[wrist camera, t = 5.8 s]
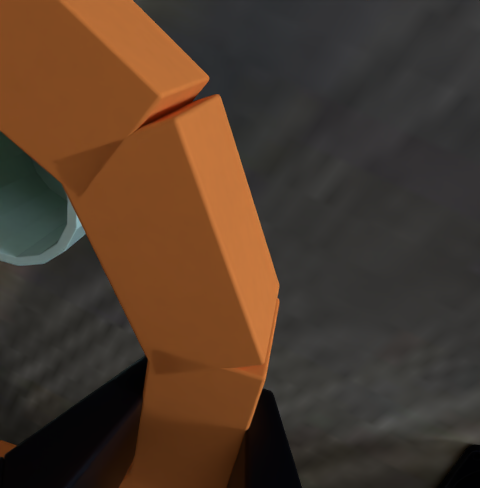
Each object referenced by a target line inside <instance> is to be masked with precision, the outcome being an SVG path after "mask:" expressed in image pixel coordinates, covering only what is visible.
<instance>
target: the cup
mask: <svg viewBox="0 0 480 488" xmlns="http://www.w3.org/2000/svg"><path fill="white" fill-rule="evenodd" d="M85 234H86V233H85V231H84V229H83V227H82V225H81V223H80V221H79V219H78V217H77V215H76V212H75V210H74V208H73V206H72V204H71V202H70V200H69V198H68V196H67V194H66V192H65V190H64V188H63V186H62V184H61V183H60V182H59V181H58V180H56V179H55V178H54V177H53V176H52V175H51V174H49V173H48V172H47V171H46V170H45V169H44V168H42V167H41V166H40V165H39V164H38V163H37V162H35V161H34V160H33V159H32V158H31V157H30V156H28V155H27V154H26V153H25V152H24V151H23V150H22V149H20V148H19V147H18V146H17V145H16V144H15V143H13V142H12V141H11V140H10V139H9V138H8V137H6V136H5V135H4V134H3V133H2V132H1V131H0V261H3V262H6V263H10V264H13V265H17V266H24V265H36V264H44V263H47V262H48V261H50V260H52V259H53V258H55V257H56V256H58V255H60V254H61V253H63V252H65V251H66V250H67V249H68V248H69V247H71V246H72V245H73V244H74V243H75V242H77V241H78V240H79V239H80V238H82V237H83V236H84V235H85Z"/></svg>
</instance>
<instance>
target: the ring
mask: <svg viewBox="0 0 480 488" xmlns="http://www.w3.org/2000/svg"><path fill="white" fill-rule="evenodd" d="M208 81H209V76H208V75H207V74H206V73H205V72H204V71H203V70H202V69H201V68H200V67H199V66H198V65H197V64H196V63H195V62H194V61H193V60H192V59H191V58H190V57H189V56H188V55H187V54H186V53H185V52H184V51H183V50H182V49H181V48H180V47H179V46H178V45H177V44H176V43H175V42H174V41H173V40H172V39H171V38H170V37H169V36H168V35H167V34H166V33H165V32H164V31H163V30H162V29H161V28H160V27H159V26H158V25H157V24H156V23H155V22H154V21H153V20H152V19H151V18H150V17H149V16H148V15H147V14H146V13H145V12H144V11H143V10H142V9H141V8H140V7H139V6H138V5H137V4H136V3H135V2H134V1H133V0H0V131H1V132H2V133H3V134H4V135H5V136H6V137H8V138H9V139H10V140H11V141H12V142H13V143H15V144H16V145H17V146H18V147H19V148H20V149H22V150H23V151H24V152H25V153H26V154H27V155H28V156H30V157H31V158H32V159H33V160H34V161H35V162H37V163H38V164H39V165H40V166H41V167H42V168H44V169H45V170H46V171H47V172H48V173H49V174H51V175H52V176H53V177H54V178H55V179H56V180H58V181H59V182H60V183H61V184H62V186H63V188H64V190H65V192H66V194H67V196H68V198H69V200H70V202H71V204H72V206H73V208H74V210H75V212H76V215H77V217H78V219H79V221H80V223H81V225H82V227H83V229H84V231H85V233H86V235H87V237H88V239H89V241H90V243H91V245H92V247H93V249H94V251H95V253H96V255H97V257H98V259H99V261H100V263H101V265H102V267H103V269H104V272H105V274H106V276H107V278H108V280H109V282H110V284H111V286H112V288H113V290H114V292H115V294H116V296H117V298H118V300H119V302H120V304H121V306H122V308H123V310H124V312H125V314H126V316H127V318H128V320H129V322H130V324H131V326H132V328H133V331H134V333H135V335H136V337H137V339H138V341H139V343H140V345H141V347H142V349H143V351H144V353H145V355H146V357H147V359H148V363H147V369H146V376H145V383H144V390H143V403H142V409H141V416H140V423H139V429H138V436H137V443H136V450H135V456H134V458H133V461H132V463H131V465H130V467H129V469H128V471H127V473H126V475H125V477H124V479H123V481H122V483H121V484H120V486H119V488H227V485H228V482H229V479H230V476H231V473H232V470H233V467H234V464H235V461H236V458H237V455H238V452H239V449H240V446H241V443H242V440H243V438H244V435H245V432H246V430H248V428H249V427H250V424H251V421H252V418H253V415H254V412H255V409H256V406H257V403H258V400H259V397H260V395H261V392H262V389H263V386H264V383H265V380H266V375H267V369H268V364H269V358H270V352H271V347H272V341H273V336H274V330H275V325H276V319H277V313H278V308H279V299H278V298H277V296H278V291H279V282H278V279H277V276H276V273H275V269H274V266H273V263H272V260H271V257H270V253H269V250H268V247H267V244H266V241H265V237H264V234H263V231H262V228H261V225H260V221H259V218H258V215H257V212H256V208H255V205H254V202H253V199H252V196H251V192H250V189H249V186H248V183H247V180H246V176H245V173H244V170H243V167H242V164H241V160H240V157H239V154H238V151H237V148H236V144H235V141H234V138H233V135H232V131H231V128H230V125H229V122H228V119H227V115H226V112H225V109H224V106H223V103H222V99H221V97H220V96H219V95H218V94H215V95H212V96H209V97H206V98H203V99H199V100H196V101H193V100H194V98H195V97H196V96H197V95H198V93H199V92H200V91H201V90H202V89H203V87H204V86H205V85H206V84H207V82H208ZM192 101H193V102H192ZM16 446H17V445H14V444H11V443H8V442H5V441H2V440H0V457H3V458H4V455H5V454H6V453H7V452H9V451H10V450H12V449H13V448H14V447H16Z"/></svg>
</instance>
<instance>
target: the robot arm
mask: <svg viewBox="0 0 480 488" xmlns="http://www.w3.org/2000/svg"><path fill="white" fill-rule="evenodd" d="M147 363H148V359H147V357H146V355H145V356H144V357H142V358H141V359H139V360H138V361H136V362H135V363H134V364H132V365H131V366H129V367H128V368H126V369H125V370H124V371H122V372H121V373H119V374H118V375H117V376H115V377H114V378H112V379H111V380H109V381H108V382H107V383H105V384H104V385H102V386H101V387H100V388H98V389H97V390H95V391H94V392H92V393H91V394H90V395H88V396H87V397H85V398H84V399H82V400H81V401H80V402H78V403H77V404H75V405H74V406H73V407H71V408H70V409H68V410H67V411H65V412H64V413H63V414H61V415H60V416H58V417H57V418H56V419H54V420H53V421H51V422H50V423H48V424H47V425H46V426H44V427H43V428H41V429H40V430H38V431H37V432H36V433H34V434H33V435H31V436H30V437H29V438H27V439H26V440H24V441H23V442H21V443H20V444H19V445H17V446H16V447H14V448H13V449H12V450H10V451H9V452H7V453H6V454H5V455H4V458H3V457H0V488H119V486H120V484H121V483H122V481H123V479H124V477H125V475H126V473H127V471H128V469H129V467H130V465H131V463H132V461H133V458H134V456H135V450H136V443H137V436H138V429H139V423H140V416H141V409H142V403H143V390H144V383H145V376H146V369H147ZM227 488H302V486H301V482H300V479H299V476H298V473H297V469H296V466H295V463H294V460H293V456H292V453H291V450H290V447H289V443H288V440H287V437H286V434H285V430H284V427H283V424H282V421H281V417H280V414H279V411H278V408H277V404H276V401H275V398H274V395H273V393H272V392H271V391H269V390H266V389H262V392H261V395H260V397H259V400H258V403H257V406H256V409H255V412H254V415H253V418H252V421H251V424H250V427H249V428H248V430H246V432H245V435H244V438H243V440H242V443H241V446H240V449H239V452H238V455H237V458H236V461H235V464H234V467H233V470H232V473H231V476H230V479H229V482H228V485H227ZM438 488H480V445H472V446H469V447H468V448H467V449H466V450H465V452H464V453H463V454H462V456H461V457H460V458H459V460H458V461H457V463H456V464H455V465H454V467H453V468H452V469H451V471H450V472H449V474H448V475H447V476H446V478H445V479H444V480H443V482H442V483H441V484H440V486H439V487H438Z"/></svg>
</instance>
